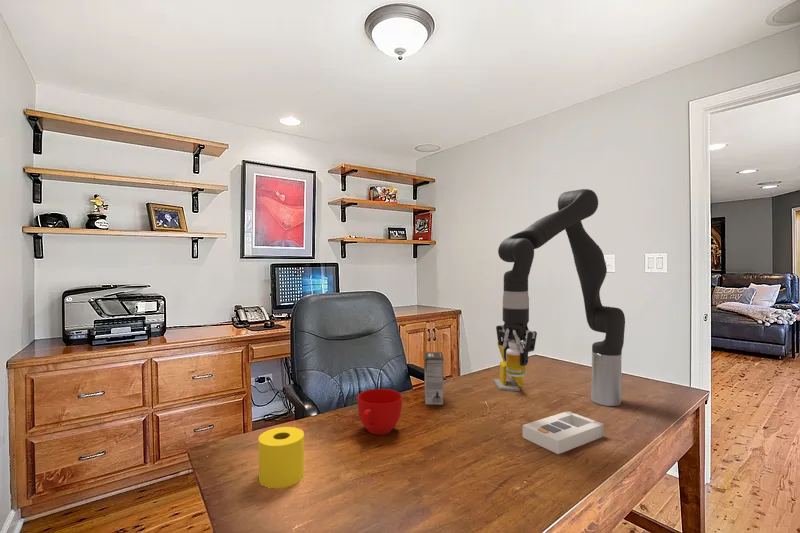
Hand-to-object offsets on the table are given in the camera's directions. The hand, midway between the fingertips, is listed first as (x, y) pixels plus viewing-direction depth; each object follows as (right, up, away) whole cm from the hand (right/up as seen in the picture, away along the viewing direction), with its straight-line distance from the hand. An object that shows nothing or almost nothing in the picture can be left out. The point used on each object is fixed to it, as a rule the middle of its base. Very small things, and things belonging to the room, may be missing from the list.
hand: (515, 362), depth 123 cm
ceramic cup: (-41, -19, -4) cm, 45 cm away
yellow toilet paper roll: (-61, -20, -28) cm, 70 cm away
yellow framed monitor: (+7, -18, +39) cm, 44 cm away
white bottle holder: (+11, -19, -7) cm, 23 cm away
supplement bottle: (0, -4, 0) cm, 4 cm away
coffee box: (-22, -19, +23) cm, 37 cm away
